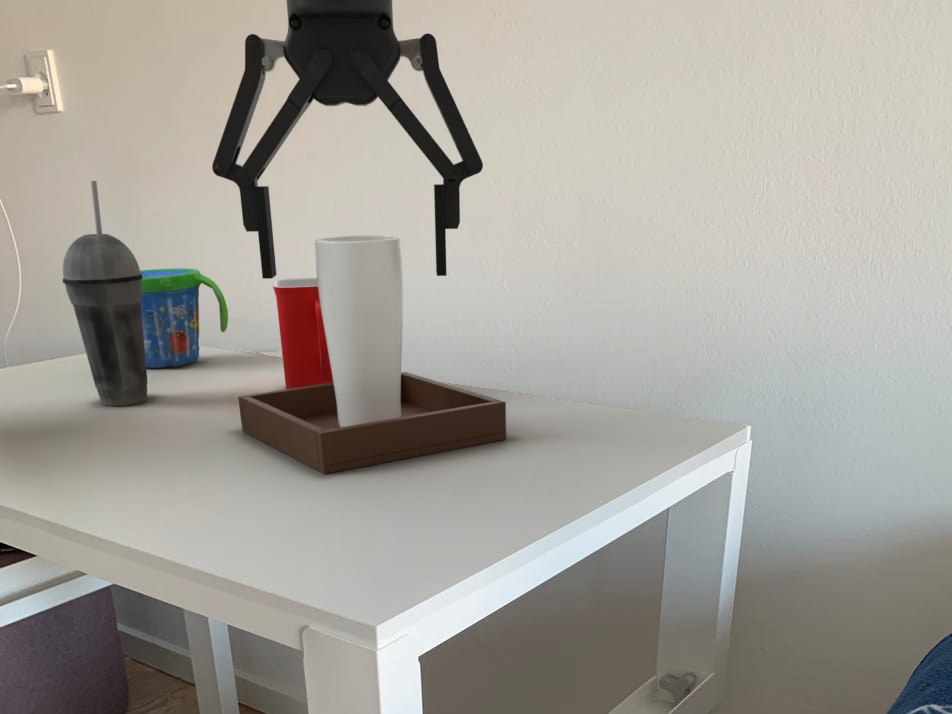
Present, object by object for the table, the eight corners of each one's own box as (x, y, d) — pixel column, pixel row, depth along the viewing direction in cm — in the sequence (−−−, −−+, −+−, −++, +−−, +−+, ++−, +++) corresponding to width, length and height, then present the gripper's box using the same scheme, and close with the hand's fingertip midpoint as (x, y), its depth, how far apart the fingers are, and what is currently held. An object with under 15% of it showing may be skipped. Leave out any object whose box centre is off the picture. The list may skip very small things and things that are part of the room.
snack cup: (83, 372, 115) (65, 278, 110) (121, 356, 124) (105, 269, 120) (216, 371, 113) (203, 276, 109) (244, 355, 123) (233, 266, 118)
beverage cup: (70, 407, 98) (25, 182, 89) (112, 392, 104) (74, 180, 95) (137, 410, 96) (98, 181, 87) (175, 394, 102) (142, 179, 94)
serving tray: (242, 431, 87) (237, 396, 86) (407, 404, 96) (405, 371, 94) (324, 474, 75) (320, 433, 74) (506, 439, 83) (506, 401, 82)
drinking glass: (425, 423, 86) (417, 235, 79) (379, 441, 81) (366, 242, 74) (362, 415, 89) (349, 234, 83) (313, 432, 84) (295, 240, 77)
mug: (285, 386, 105) (274, 278, 100) (364, 381, 106) (356, 275, 101) (284, 411, 94) (271, 292, 90) (372, 406, 95) (363, 288, 91)
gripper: (144, -55, 66) (187, 283, 76) (518, -54, 68) (516, 278, 77) (169, -35, 73) (206, 272, 82) (508, -35, 74) (508, 268, 84)
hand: (355, 276), depth 80 cm, fingers open, 13 cm apart
